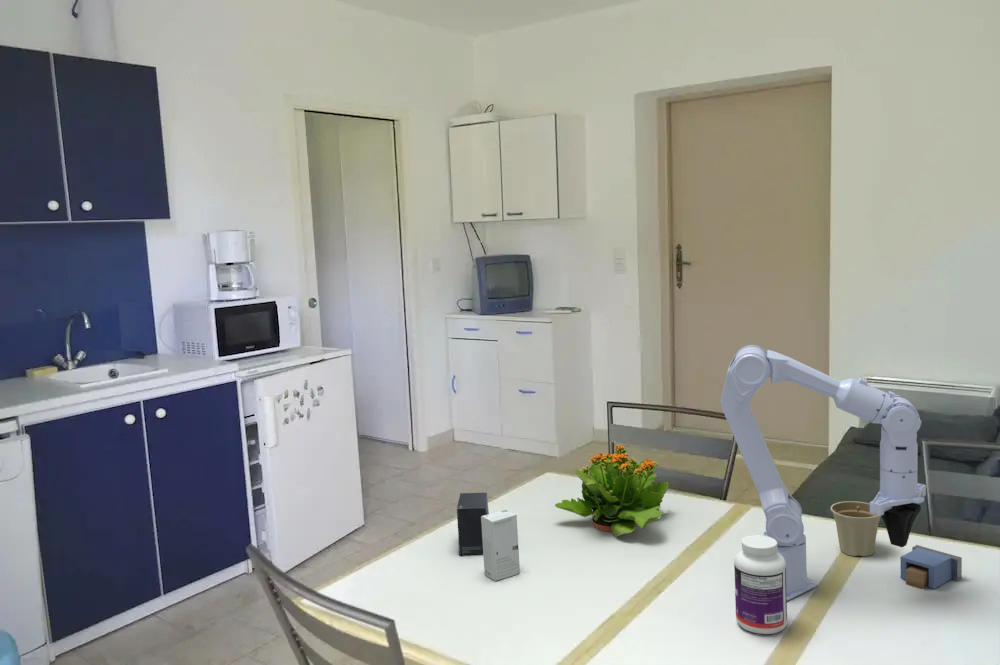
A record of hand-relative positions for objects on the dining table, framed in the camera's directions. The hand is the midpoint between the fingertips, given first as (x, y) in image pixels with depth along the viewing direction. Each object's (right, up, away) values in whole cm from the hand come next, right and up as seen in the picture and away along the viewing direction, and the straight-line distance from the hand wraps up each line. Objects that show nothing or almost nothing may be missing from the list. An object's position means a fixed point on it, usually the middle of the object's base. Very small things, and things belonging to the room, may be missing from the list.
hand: (898, 544), depth 136 cm
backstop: (+11, -7, +8) cm, 16 cm away
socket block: (+8, -8, +6) cm, 13 cm away
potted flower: (-43, -7, +43) cm, 62 cm away
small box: (-74, -10, +36) cm, 83 cm away
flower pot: (+2, -7, +20) cm, 21 cm away
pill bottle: (-26, -12, -6) cm, 29 cm away
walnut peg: (+7, -8, +5) cm, 12 cm away
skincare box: (-68, -11, +20) cm, 72 cm away
